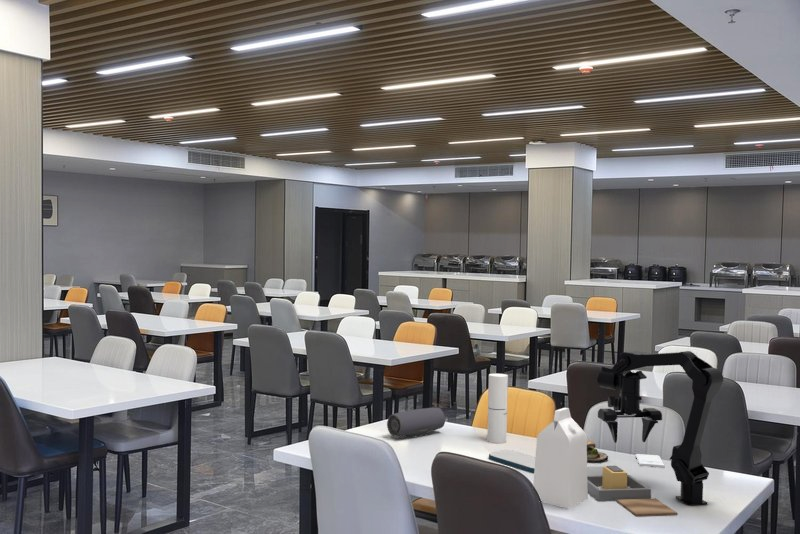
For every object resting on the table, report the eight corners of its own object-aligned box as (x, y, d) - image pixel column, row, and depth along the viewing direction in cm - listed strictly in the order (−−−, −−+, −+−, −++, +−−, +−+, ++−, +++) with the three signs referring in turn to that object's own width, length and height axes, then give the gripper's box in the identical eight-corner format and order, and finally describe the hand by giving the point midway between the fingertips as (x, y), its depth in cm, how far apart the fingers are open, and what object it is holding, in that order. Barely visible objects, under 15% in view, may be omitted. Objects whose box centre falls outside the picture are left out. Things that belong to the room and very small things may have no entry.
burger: (572, 462, 252) (572, 440, 252) (572, 453, 264) (573, 432, 264) (608, 465, 250) (609, 443, 249) (607, 456, 261) (607, 435, 261)
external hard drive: (560, 470, 243) (561, 464, 243) (538, 476, 236) (538, 470, 236) (507, 454, 262) (507, 448, 262) (484, 459, 254) (484, 453, 254)
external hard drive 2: (659, 460, 259) (664, 469, 247) (635, 458, 261) (639, 467, 249) (659, 455, 259) (665, 464, 247) (635, 453, 261) (639, 463, 248)
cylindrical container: (483, 439, 280) (485, 374, 280) (499, 438, 283) (501, 373, 283) (493, 444, 274) (495, 377, 273) (510, 442, 277) (511, 376, 276)
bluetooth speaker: (429, 429, 296) (430, 404, 295) (445, 433, 288) (446, 408, 288) (385, 437, 281) (386, 410, 281) (401, 442, 274) (401, 415, 274)
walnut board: (677, 514, 202) (677, 512, 202) (636, 516, 200) (636, 514, 200) (655, 500, 213) (655, 498, 213) (616, 501, 212) (616, 499, 212)
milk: (551, 489, 221) (553, 403, 221) (587, 498, 214) (589, 409, 214) (532, 499, 212) (534, 409, 212) (568, 508, 205) (571, 415, 204)
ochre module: (626, 496, 217) (627, 471, 217) (612, 496, 216) (612, 471, 216) (616, 488, 224) (616, 464, 224) (602, 489, 223) (602, 464, 223)
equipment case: (650, 499, 214) (650, 489, 214) (598, 501, 212) (598, 490, 212) (608, 470, 242) (608, 461, 242) (561, 471, 240) (562, 462, 240)
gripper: (647, 387, 238) (646, 435, 238) (591, 387, 236) (590, 436, 236) (663, 393, 227) (662, 444, 227) (605, 394, 225) (604, 445, 225)
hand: (629, 442), depth 229 cm, fingers open, 9 cm apart
